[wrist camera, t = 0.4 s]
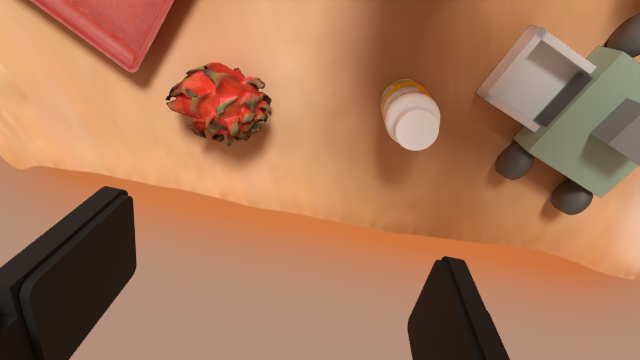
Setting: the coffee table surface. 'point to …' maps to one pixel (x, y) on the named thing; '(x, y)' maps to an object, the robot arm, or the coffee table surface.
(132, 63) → the plant saucer
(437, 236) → the coffee table surface
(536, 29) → the green wheeled cart
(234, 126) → the dragon fruit
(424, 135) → the supplement bottle
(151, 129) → the coffee table surface
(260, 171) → the coffee table surface
